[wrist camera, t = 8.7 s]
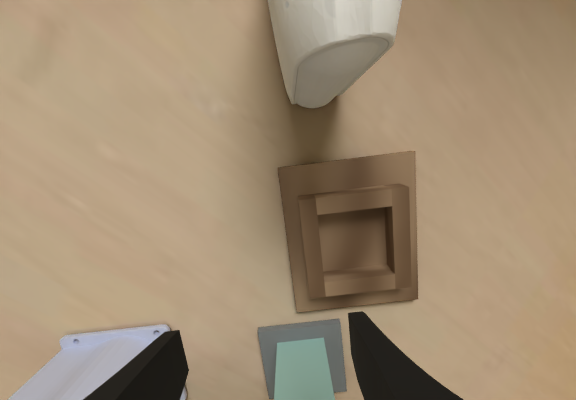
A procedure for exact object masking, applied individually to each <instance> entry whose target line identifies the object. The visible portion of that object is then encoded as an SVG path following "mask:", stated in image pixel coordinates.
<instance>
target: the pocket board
mask: <svg viewBox="0 0 576 400" xmlns="http://www.w3.org/2000/svg"><path fill="white" fill-rule="evenodd" d="M278 175H279V182H280V190H281V197H282V205H283V212H284V220H285V227H286V235H287V242H288V250H289V257H290V265H291V272H292V280H293V287H294V295H295V302H296V310H297V312H305V311H314V310H323V309H332V308H341V307H350V306H359V305H368V304H378V303H387V302H396V301H405V300H414V299H418V268H417V216H416V165H415V151H407V152H399V153H391V154H383V155H375V156H367V157H359V158H351V159H343V160H335V161H327V162H319V163H312V164H304V165H296V166H288V167H280V168H278Z"/></svg>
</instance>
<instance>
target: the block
mask: <svg viewBox="0 0 576 400" xmlns="http://www.w3.org/2000/svg"><path fill="white" fill-rule="evenodd" d="M274 400H335V397H334V391H333V386H332V380H331V375H330V369H329V364H328V358H327V353H326V347H325V342H324V338H316V339H307V340H298V341H290V342H281V343H277V354H276V373H275V391H274Z"/></svg>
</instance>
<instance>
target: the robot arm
mask: <svg viewBox="0 0 576 400" xmlns="http://www.w3.org/2000/svg"><path fill="white" fill-rule="evenodd" d="M348 318H349V331H350V344H351V355H352V359H353V363H354V368H355V372H356V376H357V380H358V383H359V386H360V389H361V391H362V394H363V397H364V400H463V399H462V398H460V397H459V396H457V395H456V394H454V393H453V392H451V391H450V390H448V389H447V388H446V387H444V386H443V385H441V384H440V383H439V382H438V381H436V380H435V379H434V378H432V377H431V376H430V375H428V374H427V373H426V372H425V371H424V370H422V369H421V368H420V367H419V366H418V365H416V364H415V363H414V362H413V361H412V360H411V359H410V358H408V357H407V356H406V355H405V354H404V353H403V352H402V351H401V350H400V349H399V348H398V347H397V346H396V345H395V344H393V343H392V342H391V341H390V340H389V339H388V338H387V337H386V336H385V335H384V334H383V333H382V331H381V330H380V329H379V328H378V327H377V326H376V325H375V324H374V323H373V322H372V321H371V319H370V318H369V317H368V316H367V315H366V314H365V313H364V312H353V313H348ZM156 330H158V331H159V332H157V331H156ZM60 345H61V348H62V350H61V351H60V352H58V353H57V354H56V355H55V356H54V357H53V358H52V359H51V360H50V361H49V362H48V363H47V364H45V365H44V366H43V367H42V368H41V369H40V370H39V371H38V372H37V373H36V374H35V375H34V376H32V377H31V378H30V379H29V380H28V381H27V382H26V383H25V384H24V385H23V386H22V387H21V388H19V389H18V390H17V391H16V392H15V393H14V394H13V395H12V396H11V397H10V398H9V399H7V400H186V398H187V393H186V389H185V386H184V385H185V382H186V378H187V375H188V371H189V369H188V365H187V361H186V356H185V352H184V348H183V344H182V340H181V336H180V331H179V330H175V331H170V328H169V326H167V325H164V324H162V325H153V326H144V327H135V328H126V329H117V330H108V331H99V332H90V333H81V334H72V335H65V336H64V337H62V338H61V339H60Z"/></svg>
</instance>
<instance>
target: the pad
mask: <svg viewBox="0 0 576 400" xmlns="http://www.w3.org/2000/svg"><path fill="white" fill-rule="evenodd" d="M258 337H259V342H260V348H261V354H262V360H263V366H264V371H265V377H266V383H267V389H268V395H269V399H274V391H275V373H276V354H277V343H281V342H290V341H298V340H307V339H316V338H324V342H325V347H326V353H327V358H328V364H329V369H330V375H331V380H332V386H333V391H334V393H335V392H345V391H347V389H346V378H345V367H344V357H343V346H342V335H341V325H340V320H339V319H332V320H323V321H314V322H305V323H296V324H286V325H277V326H268V327H259V328H258Z"/></svg>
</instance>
